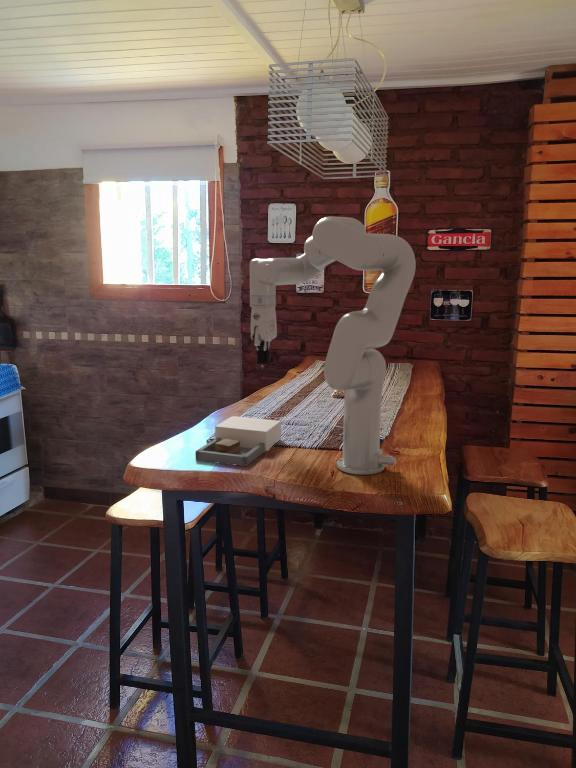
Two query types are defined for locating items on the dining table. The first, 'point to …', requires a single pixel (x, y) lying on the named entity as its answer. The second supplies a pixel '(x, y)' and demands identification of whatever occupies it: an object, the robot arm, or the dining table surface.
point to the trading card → (323, 424)
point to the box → (239, 458)
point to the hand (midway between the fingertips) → (263, 363)
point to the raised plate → (249, 431)
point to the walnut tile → (227, 446)
